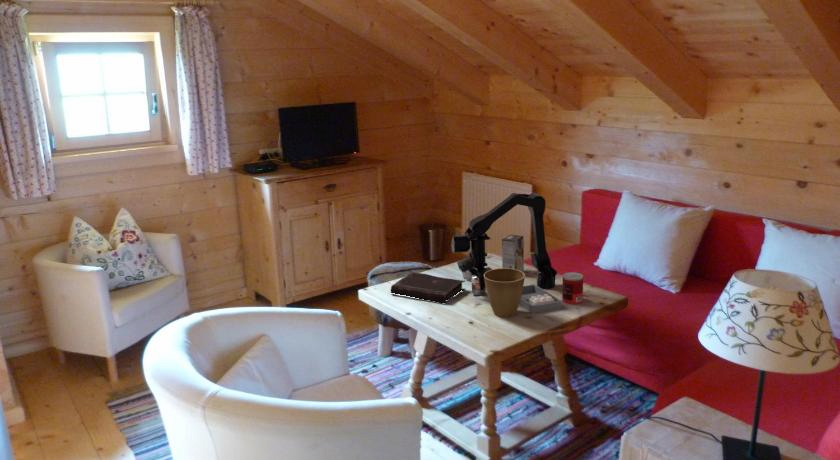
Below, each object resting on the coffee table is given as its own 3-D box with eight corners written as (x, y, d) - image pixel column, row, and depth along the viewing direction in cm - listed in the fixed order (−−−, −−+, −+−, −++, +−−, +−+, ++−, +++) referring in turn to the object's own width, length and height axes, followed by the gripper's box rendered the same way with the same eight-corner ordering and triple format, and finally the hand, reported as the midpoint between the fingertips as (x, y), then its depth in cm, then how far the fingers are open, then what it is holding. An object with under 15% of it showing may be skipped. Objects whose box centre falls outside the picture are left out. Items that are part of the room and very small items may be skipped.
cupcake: (469, 273, 293) (469, 251, 290) (485, 277, 286) (485, 255, 284) (455, 278, 287) (454, 256, 284) (471, 283, 280) (470, 260, 278)
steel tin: (482, 289, 270) (482, 273, 268) (488, 293, 265) (488, 277, 263) (469, 291, 268) (469, 275, 267) (475, 295, 263) (475, 279, 261)
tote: (534, 292, 267) (534, 284, 266) (561, 310, 248) (561, 301, 247) (506, 296, 263) (506, 288, 262) (531, 315, 244) (531, 306, 243)
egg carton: (547, 303, 253) (547, 292, 252) (554, 307, 248) (554, 296, 247) (528, 306, 250) (528, 295, 249) (535, 310, 246) (535, 299, 245)
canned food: (583, 299, 257) (584, 272, 254) (581, 307, 250) (582, 279, 247) (563, 298, 260) (564, 271, 257) (560, 305, 252) (561, 278, 250)
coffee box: (510, 268, 297) (510, 234, 293) (524, 270, 294) (524, 235, 290) (501, 274, 290) (501, 239, 286) (515, 276, 287) (515, 240, 282)
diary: (445, 306, 258) (444, 294, 257) (390, 297, 270) (390, 285, 269) (466, 290, 273) (465, 279, 272) (413, 282, 286) (413, 271, 284)
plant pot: (481, 309, 252) (480, 269, 247) (519, 306, 253) (519, 267, 248) (488, 324, 237) (487, 282, 233) (529, 321, 238) (529, 279, 234)
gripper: (450, 247, 268) (451, 283, 272) (468, 259, 251) (469, 298, 255) (475, 243, 272) (476, 279, 276) (495, 255, 254) (495, 293, 258)
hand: (478, 287), depth 266 cm, fingers closed on steel tin, 6 cm apart
